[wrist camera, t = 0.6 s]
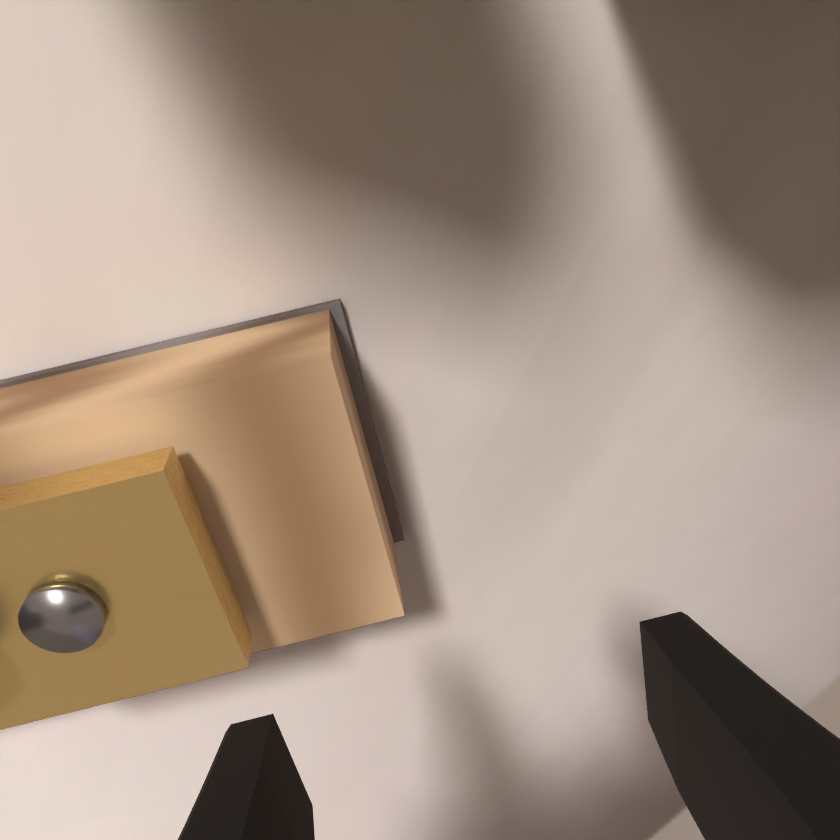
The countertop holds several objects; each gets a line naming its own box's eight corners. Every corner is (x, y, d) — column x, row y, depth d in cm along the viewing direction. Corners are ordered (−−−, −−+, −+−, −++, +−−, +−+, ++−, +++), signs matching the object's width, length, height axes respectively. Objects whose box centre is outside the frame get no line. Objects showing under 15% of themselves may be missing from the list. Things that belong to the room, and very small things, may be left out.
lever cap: (173, 445, 14) (151, 498, 13) (252, 636, 17) (244, 703, 15) (-172, 529, 14) (-241, 594, 13) (-43, 709, 17) (-86, 786, 15)
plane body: (339, 298, 18) (343, 349, 14) (402, 533, 21) (417, 618, 18) (-334, 460, 17) (-482, 549, 14) (-163, 673, 21) (-253, 785, 17)
